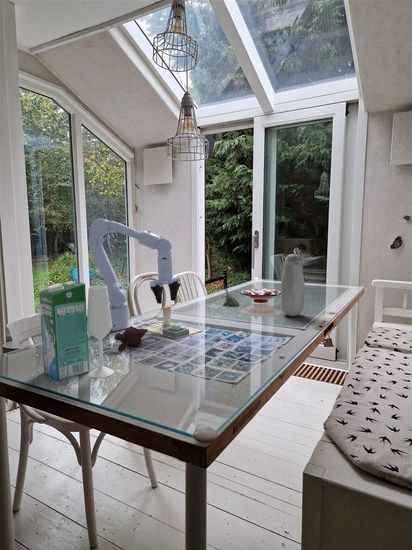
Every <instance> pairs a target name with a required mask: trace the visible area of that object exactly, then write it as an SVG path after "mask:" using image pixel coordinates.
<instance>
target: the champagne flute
mask: <svg viewBox="0 0 412 550" xmlns="http://www.w3.org/2000/svg"><path fill="white" fill-rule="evenodd" d="M109 305H110V302H109V294H108V291H107V286H106V285H92V286H89V287H88V294H87V308H86V311H87V332H88V333H89V335H91V336H92V337H93V338H95V339H97V348H98V349H97V351H98V353H97V354H98V367H96V368H95V369H93V370H92V371H89V372H88V373H89V374H88V376H89V377H91V378H95V379H97V378H100V379H101V378H106V377H110V376H112V375H113V374H114V373H115V370H113V369H111V368H109V367H106V366H104V350H103V349H104V348H103V339H104V338H105V337H106V336H107V335H108V334H110V332H111V328H112V320H111V313H110V306H109Z"/></svg>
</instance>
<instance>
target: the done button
mask: <svg viewBox="0 0 412 550" xmlns="http://www.w3.org/2000/svg"><path fill="white" fill-rule="evenodd" d="M181 325H182V324H180V323H174V324H172V325H171V331H174V332H177V331H180V330H181Z"/></svg>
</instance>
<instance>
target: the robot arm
mask: <svg viewBox="0 0 412 550" xmlns="http://www.w3.org/2000/svg"><path fill="white" fill-rule="evenodd" d="M110 233H111V234H112V233H113V234H114V233H120V234H122V235H125V236H128V237H130V238H133V239H135V240H137V242H138V243H139V244H140V245H141V246H144V247H147V248H149V249H151V250H154V251H155V250H157V259H156V260H157V276H158V277H157V278H158V279H155V280H151V281H149V282H150V283H149V285H150V287H149V288H150V290H151V291H152V293H153V294H154V295H153V296H154V298H155V300H156V304H159V305H161V304H162V302H163V290H164V286H163V285H167V286H168V288H169V295H170V300H171V301H175V302H176V300H177V294H178V292H179V289H180V287H181V283H180V282H181V278H180V277H173V258H172V252H171V250H172V243H171V241H170V240H169V239H167V238H163V236H162V235H157V234H154V233H152V231H151V230H142V231H138V230H137V229H133V228H132V227H129V226H127V225H125V224H122V223H121V222H118V221H113V220H109V219H106V218H96V219H94V220H93V221H92V222H91V225H90V227H89V235H88V241H87V245H88V247H89V250H90V253H91V254H92V256H93V259H94V261H95V263H96V265H97V267H98V269H99V271H100V274H101V277H102V279H103V281H104V284H105V286H107V291H108V298H109V306H110V313H111V320H112V328H111V330H110V332H117V331H121V330H126V329H128V328H129V327H130V326H132V327H134V325H132V324H129V303H127V301H126V300H127V299H128V297H129V296H128V291H127V290H126V289H125V288H124V287H123V286H122V283H120V281H119V280H118V277H117V276H116V273H115V271H114V269H113V266H112V264H111V261H110V260H109V257H108V255H107V252H106V250H105V248H104V245H103V243H104V242H105V240H106V237H107V236H108V235H110Z"/></svg>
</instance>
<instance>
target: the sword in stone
mask: <svg viewBox="0 0 412 550" xmlns="http://www.w3.org/2000/svg"><path fill="white" fill-rule="evenodd" d="M223 285H224V288H225V289H224V291H225V293H226V295H225V301H224V303H223V304H222V306H223V307H229V308H230V307H231V308H239V307H240V306H241V305H240V302H239V301H238V300H237V299H236V298H235V297H234V296H231V295H229V290H228V288H227V286H226V283H225V282H224V283H223Z"/></svg>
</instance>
